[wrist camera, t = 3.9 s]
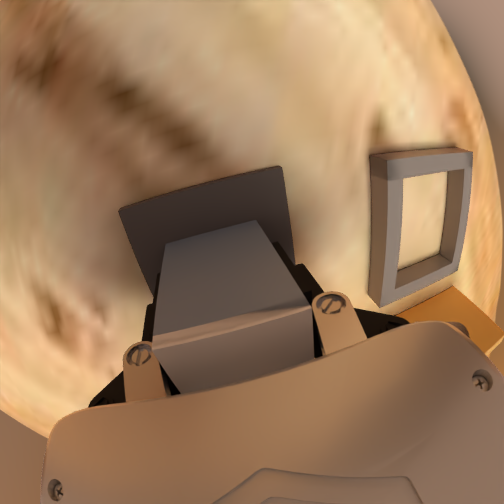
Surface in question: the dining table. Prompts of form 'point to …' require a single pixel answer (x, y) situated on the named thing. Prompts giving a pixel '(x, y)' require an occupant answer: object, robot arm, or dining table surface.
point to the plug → (228, 310)
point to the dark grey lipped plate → (207, 215)
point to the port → (437, 267)
